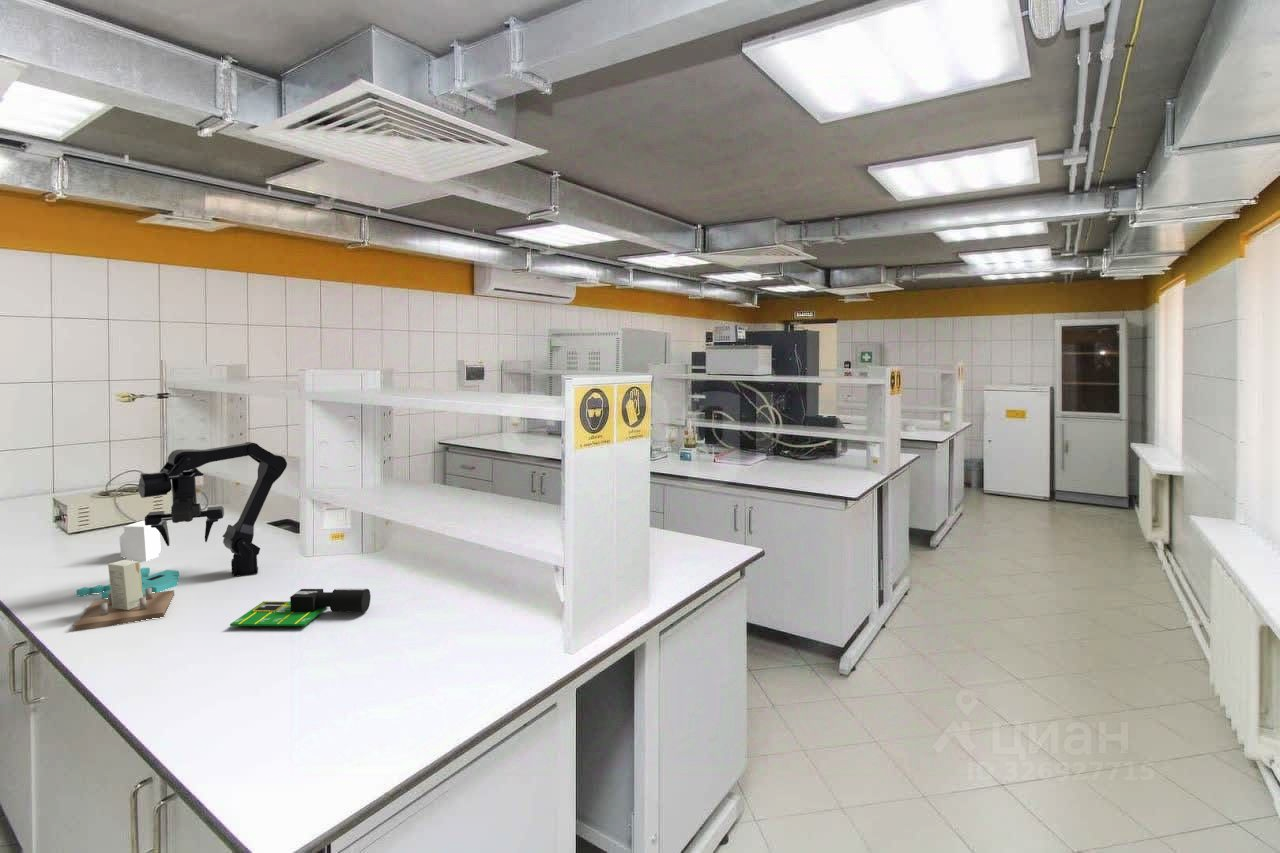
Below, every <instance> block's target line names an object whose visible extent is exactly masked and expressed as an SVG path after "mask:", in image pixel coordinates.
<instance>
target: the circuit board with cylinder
mask: <svg viewBox="0 0 1280 853" xmlns="http://www.w3.org/2000/svg"><path fill="white" fill-rule="evenodd" d="M370 604H371V591H370V589H369V588H334V589H333V590H332V591H331V592H330V591H329V592H328V591H326V592H324V588H301V589H299V590H297V591H296V592H295V593H294V594H292V595H291V596H290V598H289V601H283V600H282V601H275V600H274V601H272V600H271V601H270V600H269V601H268V600H266V601H261V602H260V603H259V604H258V605H256V606H255V607H253V608H252V609H250V610H248V611H247V612H245V613H244V614H243V615H241V616H240V617H238V618H237V619H235V620H234V621H232V622H231V623H229V626H230V627H305V626H307V624H309V623H310V622H311V621H312V620H314V619H316V618H317V616H319V615H320V614H321V613H322V612H324V611H325V610H326V609H327V608H329V609H330V612H332V613H366V612H367V611H368V609H369V607H370Z"/></svg>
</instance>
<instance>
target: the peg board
mask: <svg viewBox="0 0 1280 853" xmlns="http://www.w3.org/2000/svg"><path fill="white" fill-rule="evenodd" d="M145 592H146V594H143V597H142V598H140V599H139V601H140V606H138V607H135V608H132V609H129V610H123V609H117V608H113V607H112V598H111V593H108V599H98V600H93V601H91V603H90V604H89V606H88V607H87V608H86V610H85V611H84V612H83V614H82V615H81V616H79V619H77V621H76V623H75V624H74V625H73V629H74V632H78V631H84V630H85V631H86V630H92V629H96V628H97V629H99V628H104V627H110V626H111V627H112V625H113V626H117V624H119V625H124V624H123V623H126V624H129V623H128V622H133V623H136V622H135V621H139V622H142V621H141V620H146V619H152V618H159V619H161V618H160V617H164V618H165V616H166V614H167V612H168V610H167V609H169V608H170V606H169V605H171V603H172V601H173V599H174V597H175V589H172V590H167V591H166V590H164V591H162V592H157V593H152V588H146V589H145ZM173 596H174V597H173ZM172 598H173V599H172ZM171 600H172V601H171ZM170 602H171V603H170ZM168 607H169V608H168ZM166 611H167V612H166ZM165 613H166V614H165ZM164 615H165V616H164ZM152 620H153V619H152ZM146 621H147V620H146Z"/></svg>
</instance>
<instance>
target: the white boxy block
mask: <svg viewBox="0 0 1280 853" xmlns="http://www.w3.org/2000/svg"><path fill="white" fill-rule="evenodd" d="M119 548H120V558H121V557H126V558H125V560H133V561H147V562H149V561H151V560H150V559H152V560H154V559H156V557H157V558H159V557H160V556H159V554H160V553H161V552H162V550H161V549H162V548H161V533H160V532H159V531H158V530H157V529H156V528H152V527H151V525H145V519H144V520H143V519H142V520H140V521H136V522H133V523H131V524H128V525H124V526H123V533H122V534H121V535H120V536H119ZM153 558H154V559H153ZM148 560H149V561H148Z"/></svg>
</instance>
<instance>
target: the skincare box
mask: <svg viewBox="0 0 1280 853" xmlns="http://www.w3.org/2000/svg"><path fill="white" fill-rule="evenodd" d="M107 567H108V576H109V577H108V578H109V584H110V588H111V598H112V607H113V608H117V609H123V610H129V609H132V608H135V607H138V606H140V601H139V599H140V598H142V597H143V591H142V580H141V570H140V569H141V562H140V561H132V560H126V559H122V560H118V561H114V562H109V563H108V564H107Z"/></svg>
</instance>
